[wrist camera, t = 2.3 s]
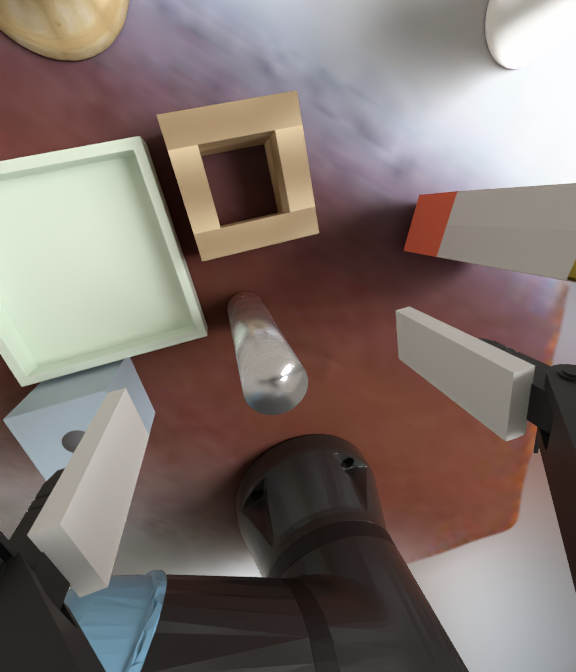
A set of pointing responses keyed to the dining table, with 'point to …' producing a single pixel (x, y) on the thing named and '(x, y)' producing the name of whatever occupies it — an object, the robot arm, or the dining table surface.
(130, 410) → the robot arm
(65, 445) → the slate-blue block
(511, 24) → the beer glass
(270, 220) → the oak block
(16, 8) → the hand bell
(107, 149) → the tray
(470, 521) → the dining table surface
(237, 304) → the cylinder
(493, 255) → the french fries container
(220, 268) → the dining table surface
